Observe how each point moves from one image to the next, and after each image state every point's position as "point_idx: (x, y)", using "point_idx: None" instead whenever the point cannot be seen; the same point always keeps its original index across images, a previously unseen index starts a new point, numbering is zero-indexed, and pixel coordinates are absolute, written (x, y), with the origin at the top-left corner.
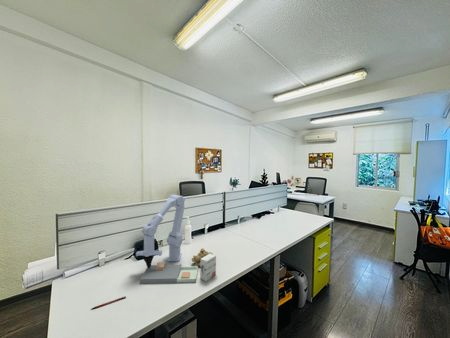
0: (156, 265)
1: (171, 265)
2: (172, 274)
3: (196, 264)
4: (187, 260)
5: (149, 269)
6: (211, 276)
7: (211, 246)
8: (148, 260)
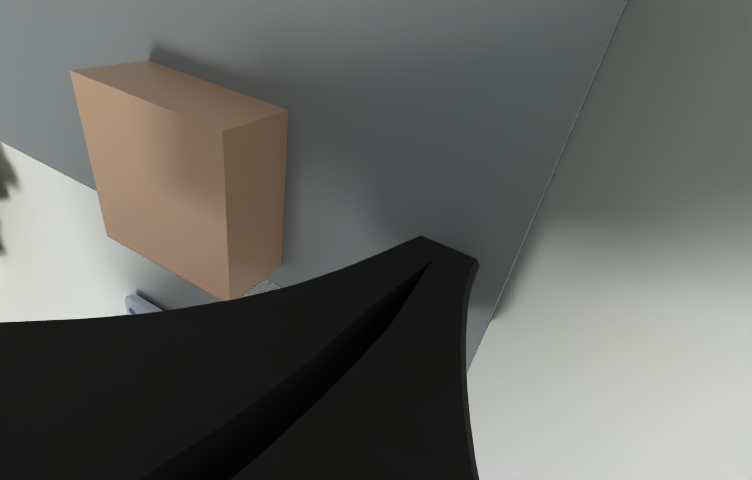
0: (220, 198)
1: (90, 174)
2: None
3: None
4: (73, 265)
5: (430, 201)
6: None
7: None
8: (247, 384)
